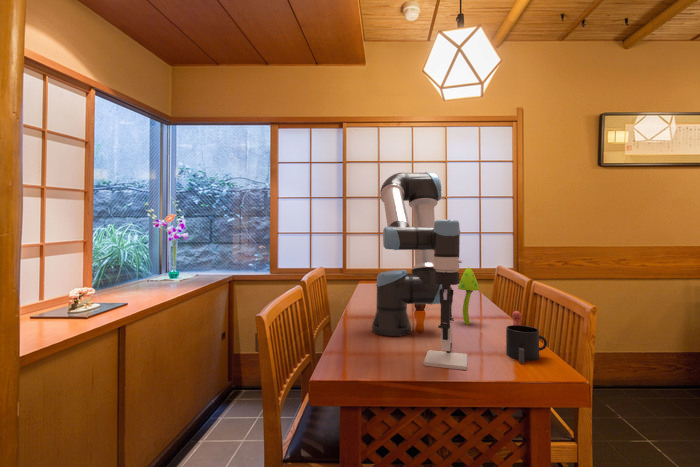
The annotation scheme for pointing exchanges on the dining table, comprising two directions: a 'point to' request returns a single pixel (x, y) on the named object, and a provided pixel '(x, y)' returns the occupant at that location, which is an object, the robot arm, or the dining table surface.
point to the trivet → (446, 360)
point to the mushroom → (467, 290)
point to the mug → (523, 342)
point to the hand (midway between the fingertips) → (446, 346)
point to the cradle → (516, 321)
